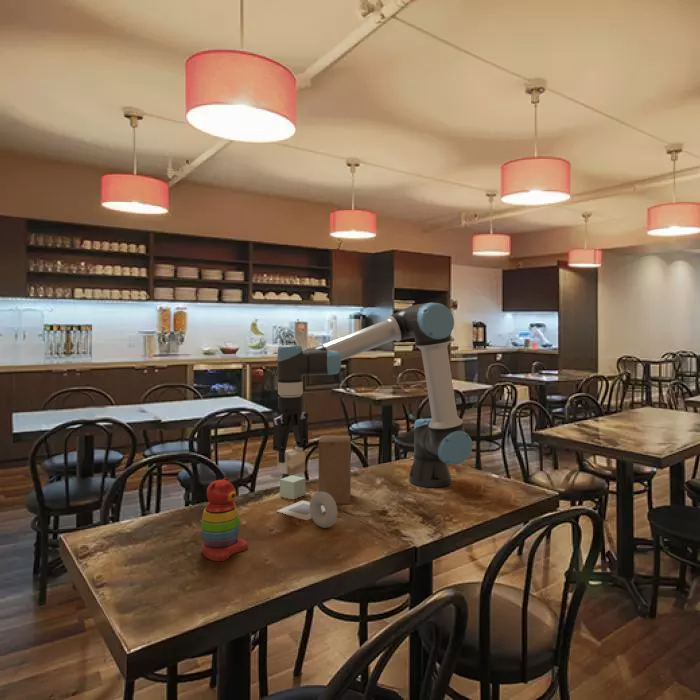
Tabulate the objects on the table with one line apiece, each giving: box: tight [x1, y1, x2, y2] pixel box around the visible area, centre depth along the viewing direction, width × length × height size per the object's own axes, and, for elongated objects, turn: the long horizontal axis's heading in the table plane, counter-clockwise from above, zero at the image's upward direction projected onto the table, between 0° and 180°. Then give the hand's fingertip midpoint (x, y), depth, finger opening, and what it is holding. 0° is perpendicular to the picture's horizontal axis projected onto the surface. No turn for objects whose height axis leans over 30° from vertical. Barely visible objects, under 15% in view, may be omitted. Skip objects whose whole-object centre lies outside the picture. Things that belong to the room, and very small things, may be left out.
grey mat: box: [276, 500, 326, 521], centre depth 160 cm, size 12×12×1 cm
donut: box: [309, 491, 339, 529], centre depth 146 cm, size 10×4×10 cm, turn 46°
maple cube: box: [276, 448, 306, 476], centre depth 160 cm, size 6×6×6 cm
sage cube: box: [279, 475, 307, 500], centre depth 173 cm, size 6×6×6 cm
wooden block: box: [318, 434, 352, 505], centre depth 170 cm, size 10×10×20 cm
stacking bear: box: [200, 477, 249, 562], centre depth 131 cm, size 11×10×18 cm
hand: (291, 470), depth 161 cm, fingers closed on maple cube, 6 cm apart
